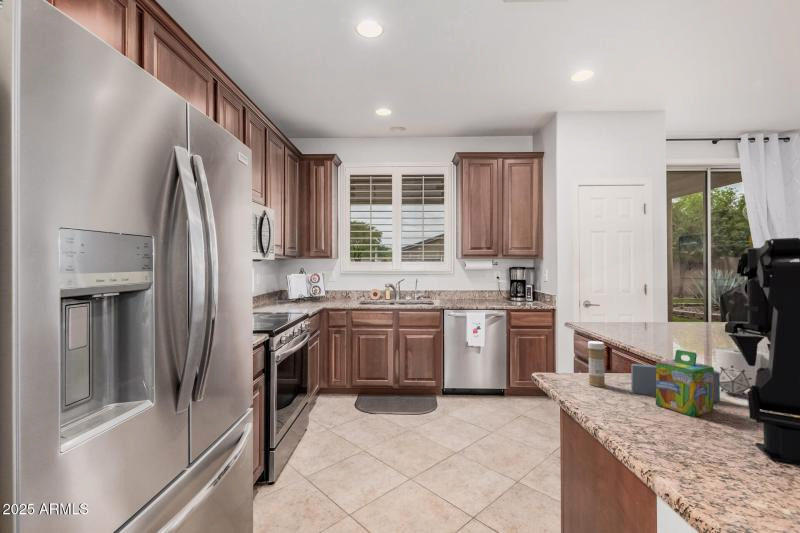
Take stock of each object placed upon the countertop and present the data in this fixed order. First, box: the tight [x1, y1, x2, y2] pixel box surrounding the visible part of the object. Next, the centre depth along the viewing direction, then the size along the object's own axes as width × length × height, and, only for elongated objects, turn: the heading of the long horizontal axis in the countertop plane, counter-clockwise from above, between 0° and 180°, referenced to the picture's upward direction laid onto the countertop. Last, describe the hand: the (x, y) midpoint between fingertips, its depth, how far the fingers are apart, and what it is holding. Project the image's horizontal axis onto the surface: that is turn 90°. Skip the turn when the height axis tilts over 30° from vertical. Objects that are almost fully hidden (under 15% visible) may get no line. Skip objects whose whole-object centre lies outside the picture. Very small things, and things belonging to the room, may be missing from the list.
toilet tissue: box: [714, 346, 769, 387], centre depth 116 cm, size 11×12×10 cm
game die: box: [719, 365, 752, 398], centre depth 105 cm, size 9×8×10 cm
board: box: [630, 363, 721, 403], centre depth 103 cm, size 2×20×8 cm, turn 66°
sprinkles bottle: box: [587, 340, 606, 388], centre depth 114 cm, size 5×5×14 cm
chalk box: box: [655, 349, 715, 418], centre depth 94 cm, size 9×9×15 cm
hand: (766, 370), depth 83 cm, fingers open, 9 cm apart
